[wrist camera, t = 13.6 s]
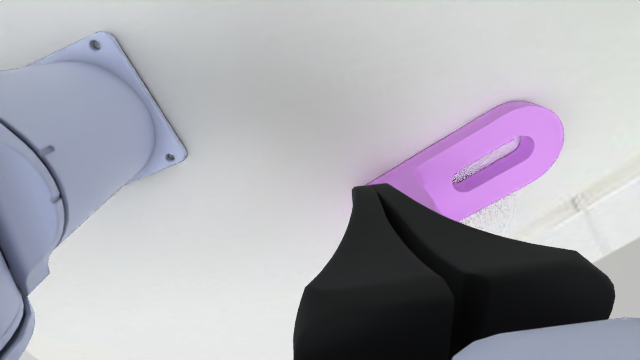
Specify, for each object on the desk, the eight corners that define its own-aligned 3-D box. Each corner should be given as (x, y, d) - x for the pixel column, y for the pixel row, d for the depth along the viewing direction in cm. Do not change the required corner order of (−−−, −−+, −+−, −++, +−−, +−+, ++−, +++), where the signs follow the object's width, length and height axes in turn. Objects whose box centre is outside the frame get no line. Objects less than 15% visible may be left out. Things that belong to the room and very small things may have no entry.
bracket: (393, 242, 25) (426, 315, 18) (357, 190, 22) (380, 253, 16) (557, 152, 22) (660, 201, 16) (534, 83, 20) (642, 110, 14)
